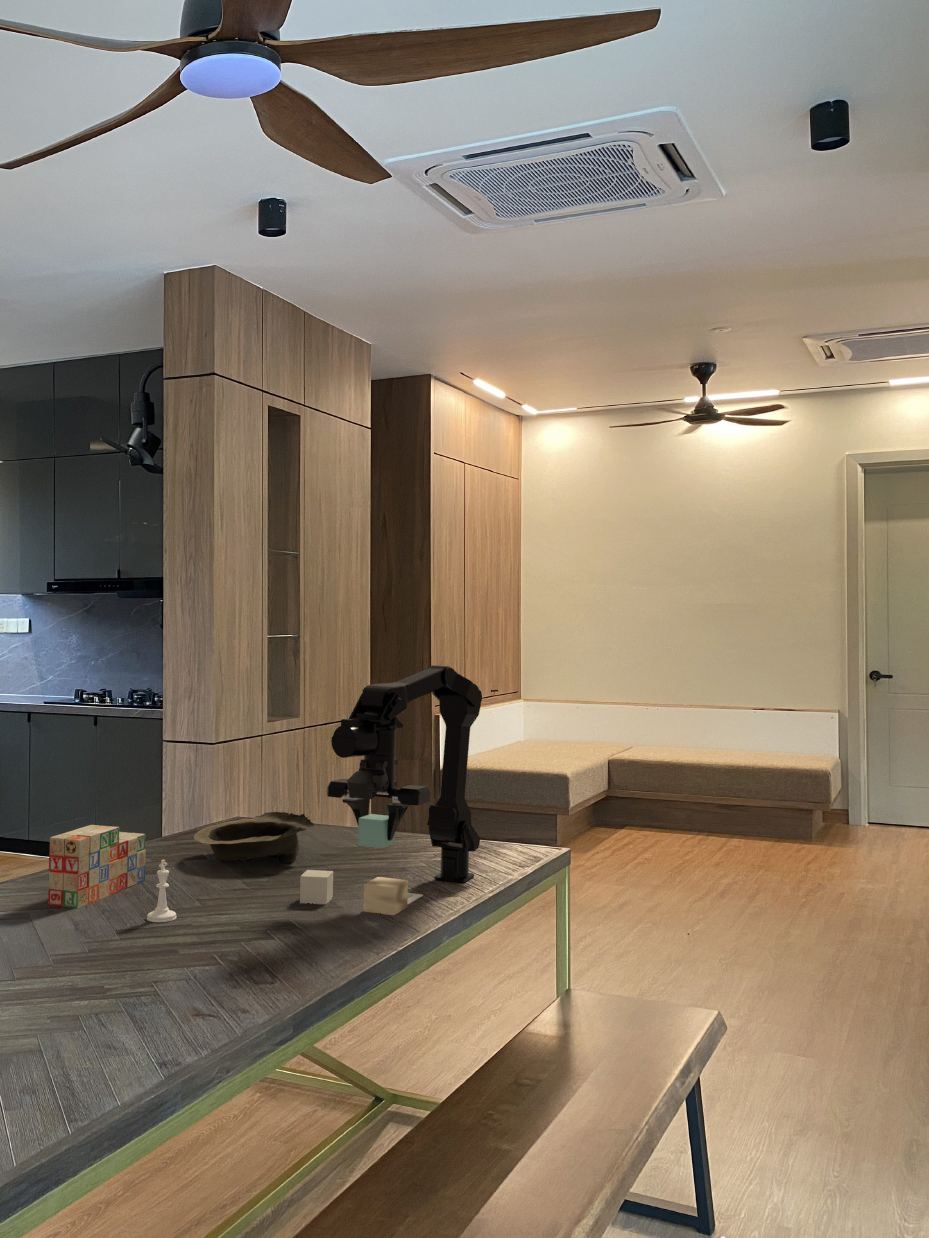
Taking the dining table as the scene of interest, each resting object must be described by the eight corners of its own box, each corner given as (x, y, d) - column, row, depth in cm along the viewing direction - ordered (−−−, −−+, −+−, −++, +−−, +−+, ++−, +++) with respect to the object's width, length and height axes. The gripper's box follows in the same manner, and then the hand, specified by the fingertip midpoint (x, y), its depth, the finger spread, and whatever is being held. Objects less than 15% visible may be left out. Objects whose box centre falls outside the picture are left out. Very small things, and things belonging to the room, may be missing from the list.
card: (389, 891, 204) (389, 889, 204) (422, 895, 202) (422, 893, 202) (373, 900, 198) (373, 897, 198) (408, 904, 195) (408, 902, 195)
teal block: (370, 840, 199) (371, 813, 199) (394, 843, 197) (395, 816, 197) (357, 845, 194) (358, 817, 194) (382, 848, 192) (383, 820, 193)
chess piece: (182, 916, 184) (183, 858, 184) (165, 923, 179) (167, 864, 179) (158, 913, 186) (159, 855, 186) (140, 920, 181) (142, 861, 181)
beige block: (306, 896, 199) (307, 869, 200) (332, 897, 199) (333, 871, 199) (299, 903, 195) (300, 876, 195) (326, 904, 194) (327, 877, 194)
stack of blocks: (117, 878, 210) (119, 815, 210) (145, 881, 208) (147, 818, 208) (47, 905, 189) (49, 836, 189) (77, 908, 187) (79, 838, 187)
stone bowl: (334, 856, 232) (333, 814, 232) (254, 887, 212) (253, 841, 211) (251, 839, 246) (250, 800, 245) (168, 867, 225) (167, 824, 224)
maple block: (377, 903, 196) (377, 876, 196) (407, 907, 194) (408, 880, 194) (363, 911, 190) (364, 883, 190) (394, 915, 188) (394, 887, 188)
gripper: (313, 754, 192) (310, 840, 192) (406, 762, 185) (403, 852, 185) (343, 748, 202) (340, 830, 202) (432, 755, 195) (429, 841, 195)
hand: (376, 838), depth 196 cm, fingers closed on teal block, 5 cm apart
